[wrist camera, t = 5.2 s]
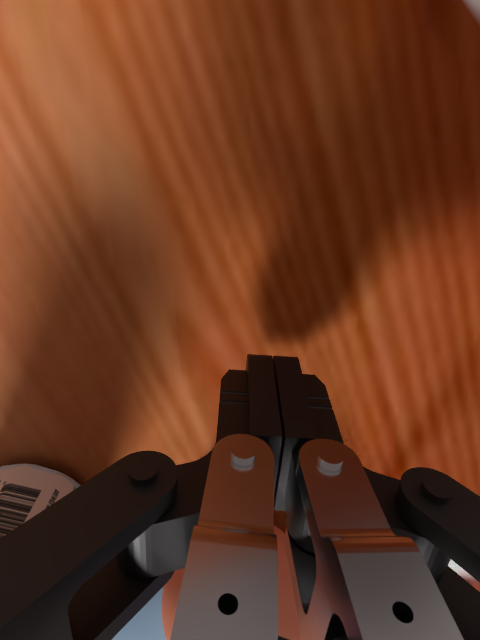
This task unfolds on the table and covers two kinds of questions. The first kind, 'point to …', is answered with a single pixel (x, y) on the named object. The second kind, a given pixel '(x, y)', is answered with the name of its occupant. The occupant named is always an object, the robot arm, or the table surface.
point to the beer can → (29, 492)
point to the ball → (286, 600)
